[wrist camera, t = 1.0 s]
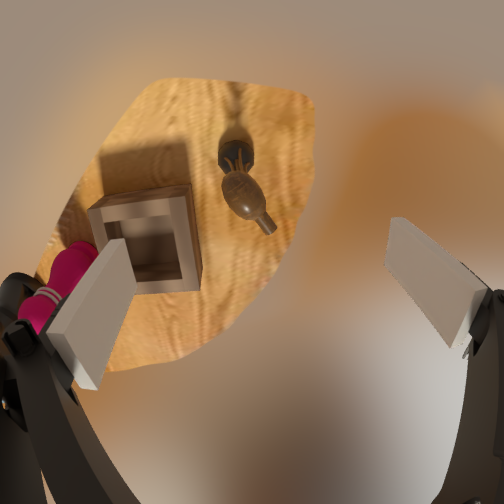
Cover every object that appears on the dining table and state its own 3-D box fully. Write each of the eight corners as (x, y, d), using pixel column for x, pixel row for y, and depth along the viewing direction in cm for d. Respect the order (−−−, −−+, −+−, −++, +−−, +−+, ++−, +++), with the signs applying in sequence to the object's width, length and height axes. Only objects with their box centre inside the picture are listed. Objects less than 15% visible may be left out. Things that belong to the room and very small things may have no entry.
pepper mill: (59, 254, 40) (-4, 332, 22) (81, 228, 38) (10, 307, 21) (88, 284, 43) (38, 371, 25) (111, 261, 41) (59, 352, 24)
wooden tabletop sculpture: (265, 168, 37) (302, 224, 19) (236, 188, 38) (246, 260, 20) (239, 133, 35) (253, 153, 17) (210, 153, 36) (193, 195, 18)
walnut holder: (123, 274, 43) (112, 295, 37) (104, 195, 37) (86, 209, 31) (202, 267, 43) (199, 290, 38) (190, 183, 37) (184, 196, 32)
